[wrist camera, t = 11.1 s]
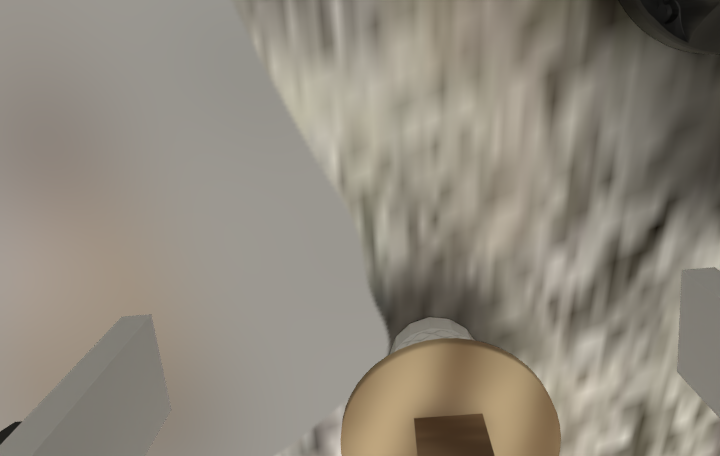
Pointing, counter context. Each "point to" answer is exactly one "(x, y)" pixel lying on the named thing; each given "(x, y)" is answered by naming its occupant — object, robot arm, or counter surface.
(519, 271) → the counter surface
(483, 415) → the lid
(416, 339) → the white cup
